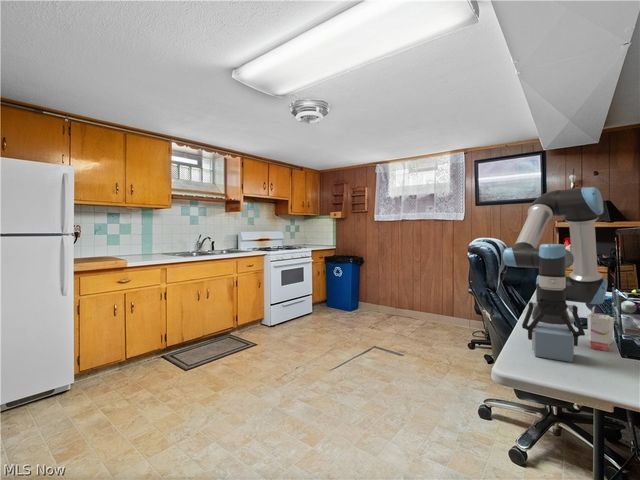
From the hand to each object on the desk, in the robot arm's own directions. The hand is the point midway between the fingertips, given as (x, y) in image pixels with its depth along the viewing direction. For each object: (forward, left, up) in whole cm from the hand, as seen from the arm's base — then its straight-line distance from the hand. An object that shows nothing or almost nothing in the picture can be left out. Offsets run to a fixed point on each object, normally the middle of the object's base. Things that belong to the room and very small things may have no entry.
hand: (551, 351), depth 111 cm
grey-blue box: (-1, 0, -1) cm, 1 cm away
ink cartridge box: (-19, +16, -1) cm, 25 cm away
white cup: (-27, +18, -1) cm, 32 cm away
